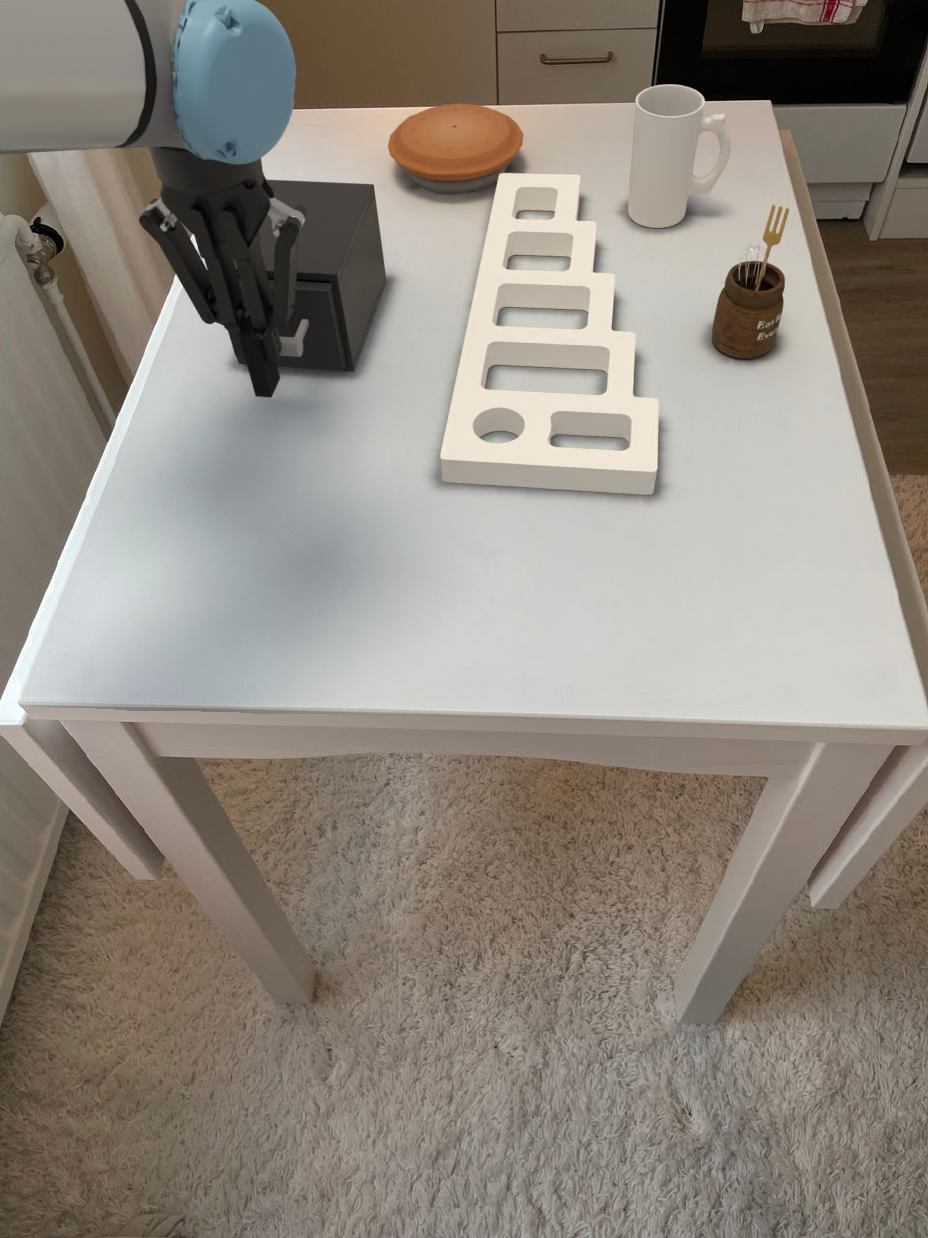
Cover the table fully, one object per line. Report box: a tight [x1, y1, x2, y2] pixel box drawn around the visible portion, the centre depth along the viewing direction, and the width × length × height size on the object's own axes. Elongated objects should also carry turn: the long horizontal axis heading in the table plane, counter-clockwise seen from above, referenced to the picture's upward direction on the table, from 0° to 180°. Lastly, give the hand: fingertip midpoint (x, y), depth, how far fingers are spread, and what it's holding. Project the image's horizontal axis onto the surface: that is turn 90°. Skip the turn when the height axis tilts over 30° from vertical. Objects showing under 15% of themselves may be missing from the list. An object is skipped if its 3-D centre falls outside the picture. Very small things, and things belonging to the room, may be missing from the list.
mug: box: [627, 83, 731, 229], centre depth 99 cm, size 10×7×12 cm, turn 76°
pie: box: [387, 103, 524, 195], centre depth 110 cm, size 16×16×5 cm
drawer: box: [232, 276, 347, 373], centre depth 90 cm, size 18×10×9 cm, turn 170°
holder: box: [439, 172, 660, 496], centre depth 93 cm, size 45×18×3 cm, turn 172°
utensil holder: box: [711, 204, 790, 359], centre depth 86 cm, size 6×6×12 cm
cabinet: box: [233, 179, 387, 372], centre depth 92 cm, size 15×12×11 cm
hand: (268, 386), depth 85 cm, fingers closed
